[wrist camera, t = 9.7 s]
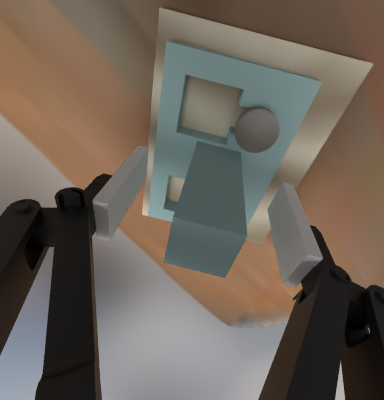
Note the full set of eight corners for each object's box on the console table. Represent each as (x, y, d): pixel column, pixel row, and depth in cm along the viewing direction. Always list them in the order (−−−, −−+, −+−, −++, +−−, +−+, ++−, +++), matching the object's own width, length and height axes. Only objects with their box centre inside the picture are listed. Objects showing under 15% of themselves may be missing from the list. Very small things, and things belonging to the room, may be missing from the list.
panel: (171, 40, 15) (93, 48, 6) (315, 78, 15) (422, 134, 6) (151, 206, 24) (109, 298, 16) (240, 229, 24) (245, 332, 16)
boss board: (163, 8, 14) (143, 1, 11) (366, 62, 15) (405, 70, 11) (144, 208, 26) (131, 234, 22) (260, 238, 26) (264, 268, 22)
